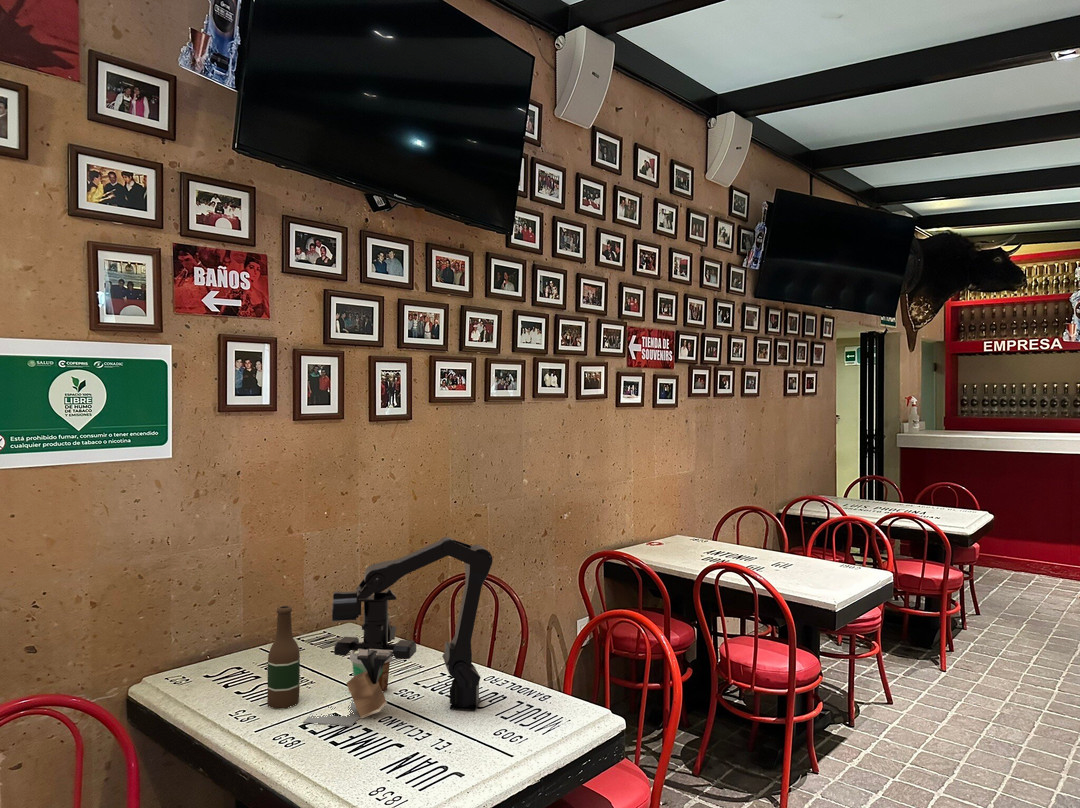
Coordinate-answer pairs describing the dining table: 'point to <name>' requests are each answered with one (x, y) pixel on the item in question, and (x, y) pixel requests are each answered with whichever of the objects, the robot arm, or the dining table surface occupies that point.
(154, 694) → the dining table surface
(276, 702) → the beer bottle
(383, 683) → the food container
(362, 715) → the block
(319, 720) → the mat
